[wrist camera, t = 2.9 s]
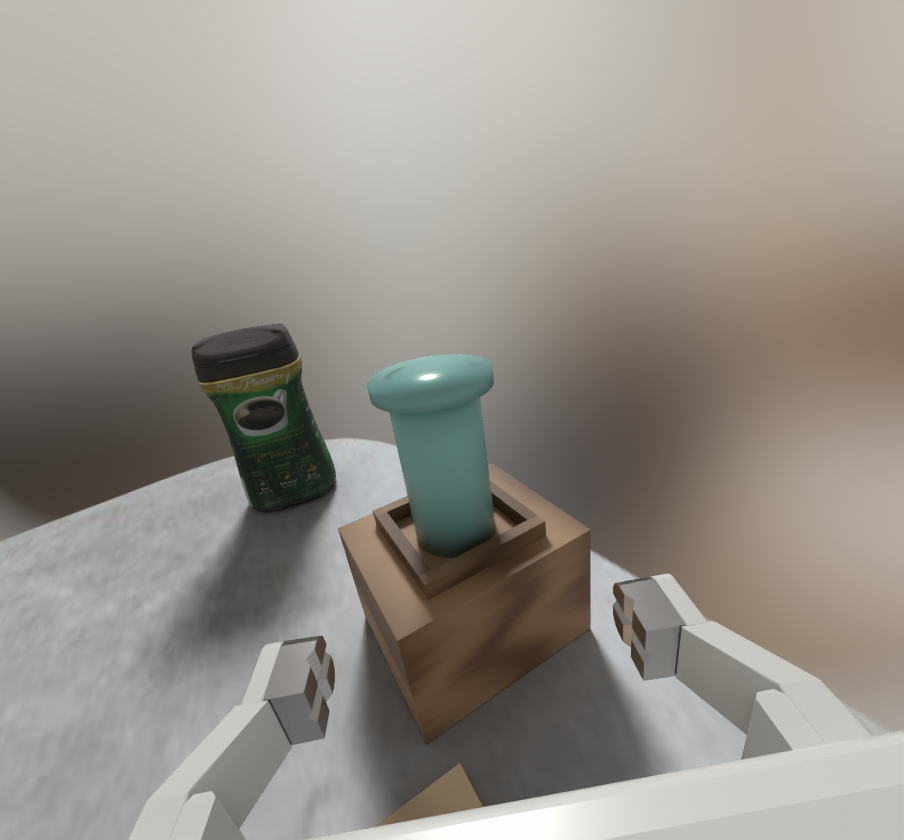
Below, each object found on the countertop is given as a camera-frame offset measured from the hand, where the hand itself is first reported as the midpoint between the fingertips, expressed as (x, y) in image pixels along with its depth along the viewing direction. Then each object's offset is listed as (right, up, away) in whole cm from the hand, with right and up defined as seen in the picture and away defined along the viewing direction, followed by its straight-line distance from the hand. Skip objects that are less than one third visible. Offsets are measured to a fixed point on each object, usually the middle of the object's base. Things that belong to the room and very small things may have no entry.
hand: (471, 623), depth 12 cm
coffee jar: (-19, -3, +36) cm, 41 cm away
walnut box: (+1, -8, +17) cm, 19 cm away
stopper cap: (0, -1, +14) cm, 14 cm away
